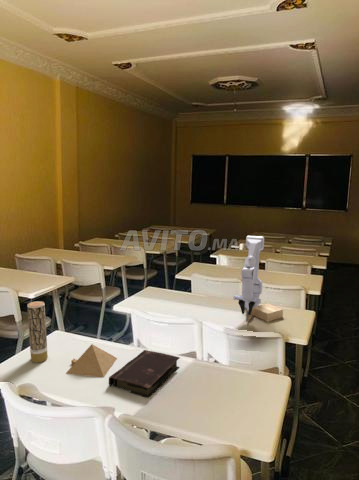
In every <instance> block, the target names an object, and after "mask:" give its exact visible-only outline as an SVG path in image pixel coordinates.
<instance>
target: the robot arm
mask: <svg viewBox="0 0 359 480" xmlns="http://www.w3.org/2000/svg"><path fill="white" fill-rule="evenodd" d="M245 245H246V248H247V249H248V254H247V255H248V256H247V257H245V259H244V265H243V268H242V269H241V271H240V275H241V282H242V283H241V295H236V294H235V295H233V298H232V300H234V301H235V300H236V301H238V302H237V303H238V305H239V307H240V311H241V314H242V315H244V314H245V310H248V309H249V315H251V311H252V308H253V307H257V306H260V305H261V303H262V298H261V299H260V295H262V294H263V281H262V280H261V279H260V278H259V264H260V263H259V262H260V253H261V251H263V250H264V248H265V237H264V236H258V235H249V234H248V235H247V236H246V238H245Z"/></svg>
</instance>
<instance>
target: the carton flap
mask: <svg viewBox="0 0 359 480" xmlns="http://www.w3.org/2000/svg"><path fill="white" fill-rule="evenodd" d="M245 314H246V315H245V316H246V317H245V318H246V319H245V322H246V323H249V321H250V320H251V318H253V316H254V315H253V308H252V311H251V315H249V309H246V313H245Z"/></svg>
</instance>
